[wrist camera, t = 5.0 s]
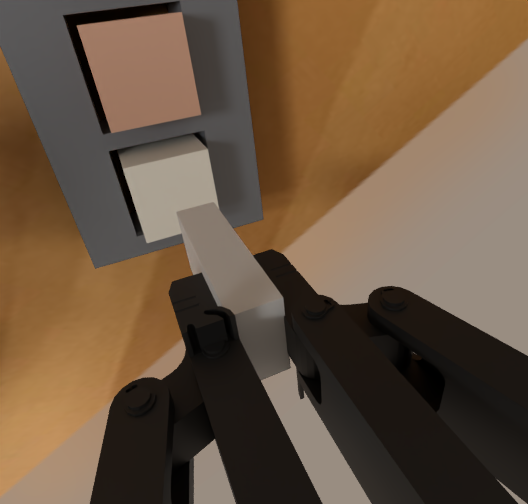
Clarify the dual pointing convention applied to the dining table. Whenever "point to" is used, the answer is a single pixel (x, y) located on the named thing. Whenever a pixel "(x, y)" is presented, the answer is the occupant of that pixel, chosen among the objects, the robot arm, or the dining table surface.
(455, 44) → the dining table surface
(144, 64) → the key terracotta
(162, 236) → the key ivory
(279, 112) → the dining table surface
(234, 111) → the keypad
